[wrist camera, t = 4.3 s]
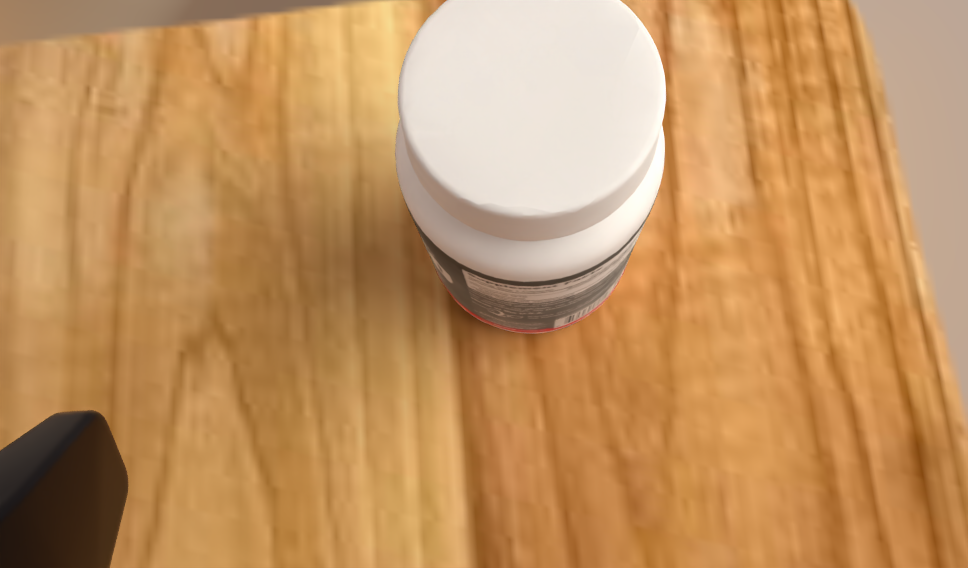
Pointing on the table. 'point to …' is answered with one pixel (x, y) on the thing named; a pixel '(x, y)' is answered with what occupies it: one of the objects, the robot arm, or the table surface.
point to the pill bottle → (530, 152)
